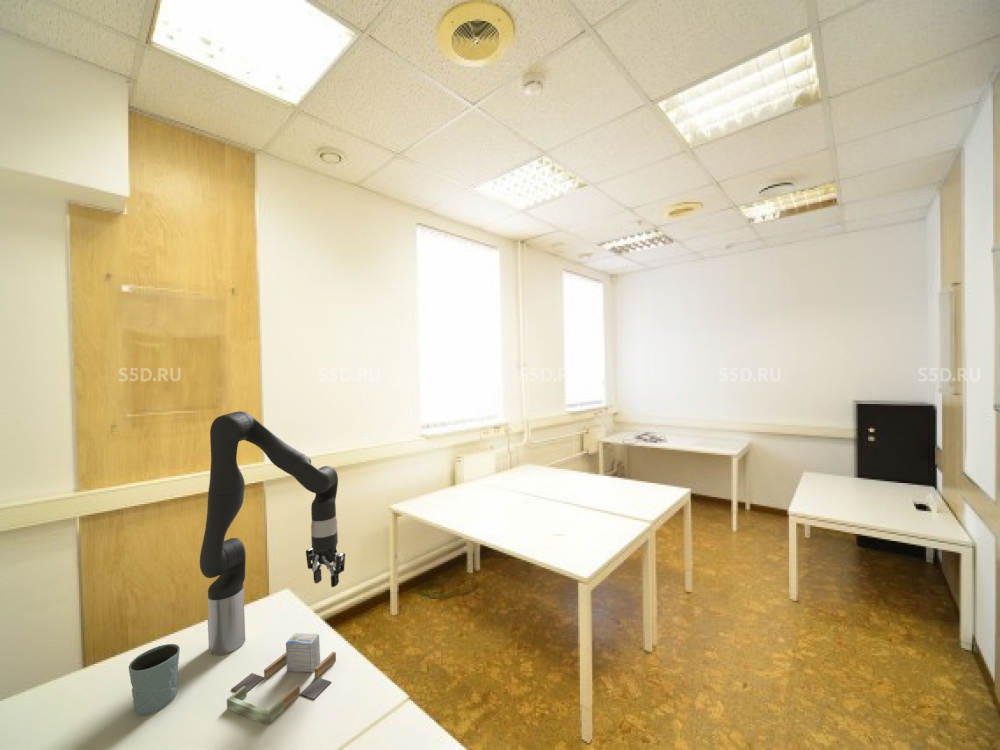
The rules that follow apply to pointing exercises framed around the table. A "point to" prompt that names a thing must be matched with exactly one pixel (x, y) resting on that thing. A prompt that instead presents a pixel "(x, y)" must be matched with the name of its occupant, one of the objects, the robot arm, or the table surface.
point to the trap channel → (268, 716)
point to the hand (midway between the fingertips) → (326, 583)
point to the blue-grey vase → (154, 678)
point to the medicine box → (303, 652)
